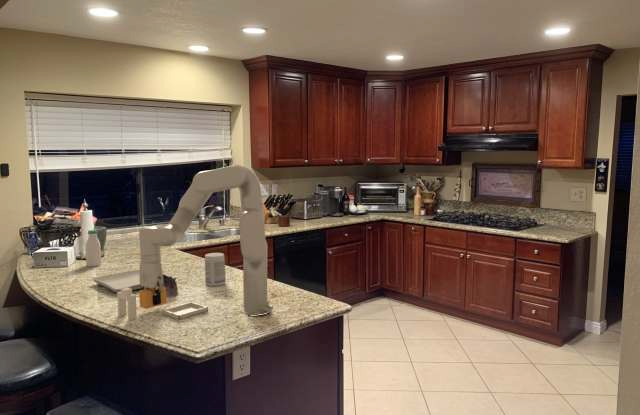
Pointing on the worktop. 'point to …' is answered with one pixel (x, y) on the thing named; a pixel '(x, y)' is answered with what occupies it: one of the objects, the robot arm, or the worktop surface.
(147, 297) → the orange block
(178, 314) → the tray
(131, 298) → the beige blocky piece
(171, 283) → the geode
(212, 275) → the supplement tub
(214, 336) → the worktop surface
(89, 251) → the milk bottle
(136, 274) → the square plate
